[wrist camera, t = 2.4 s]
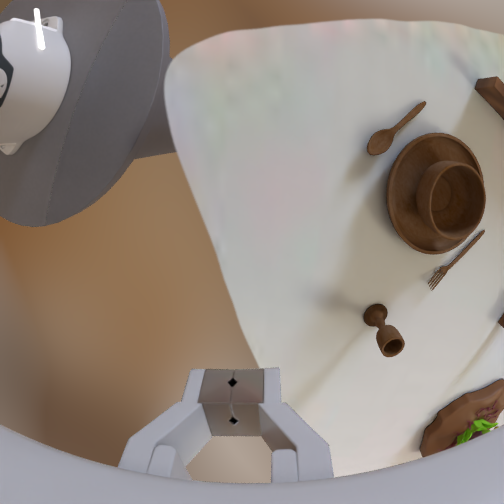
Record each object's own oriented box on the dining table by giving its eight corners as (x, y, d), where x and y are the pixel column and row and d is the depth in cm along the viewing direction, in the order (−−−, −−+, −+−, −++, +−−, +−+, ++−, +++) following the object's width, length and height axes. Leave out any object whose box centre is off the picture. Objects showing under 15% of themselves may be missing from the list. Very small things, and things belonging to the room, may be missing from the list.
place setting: (496, 222, 26) (527, 239, 20) (373, 332, 31) (389, 365, 26) (425, 88, 22) (459, 81, 16) (272, 217, 27) (275, 237, 22)
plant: (407, 459, 43) (420, 501, 33) (438, 401, 36) (463, 452, 26) (481, 432, 42) (498, 466, 31) (517, 371, 35) (544, 408, 24)
